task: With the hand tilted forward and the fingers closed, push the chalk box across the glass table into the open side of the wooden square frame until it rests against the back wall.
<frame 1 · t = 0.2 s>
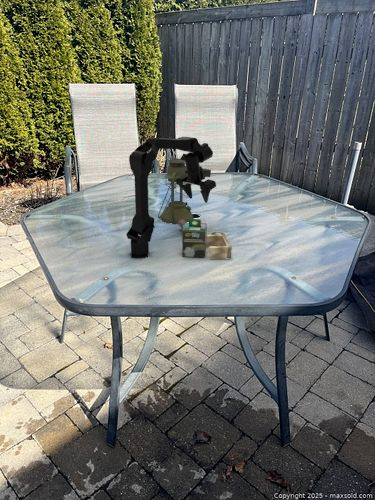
hand: (198, 200, 166), 16 cm above the table, tool pointing down, fingers open, 9 cm apart
lantern: (176, 219, 192), on the table
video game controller: (186, 232, 175), on the table
chalk box: (194, 253, 153), on the table
wooden square frame: (217, 252, 153), on the table
wheel: (217, 239, 167), on the table
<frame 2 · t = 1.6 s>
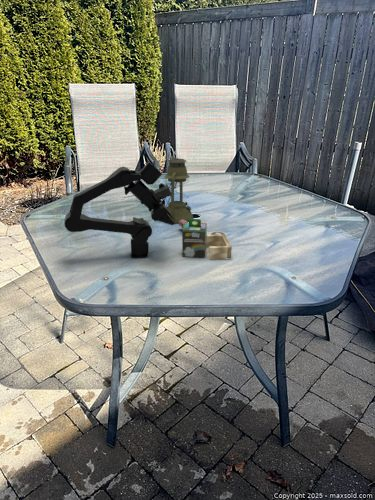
hand: (172, 221, 147), 13 cm above the table, tool tilted 45°, fingers open, 7 cm apart
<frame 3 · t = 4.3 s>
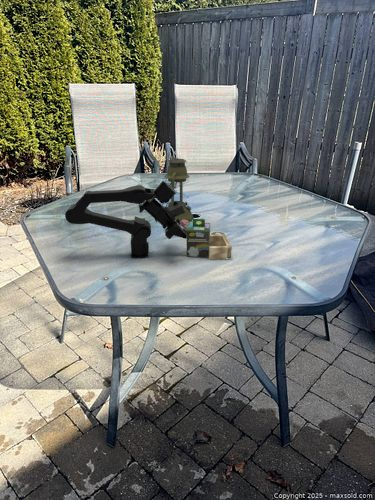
hand: (186, 237, 150), 7 cm above the table, tool tilted 45°, fingers closed
chalk box: (198, 253, 153), on the table, touching gripper
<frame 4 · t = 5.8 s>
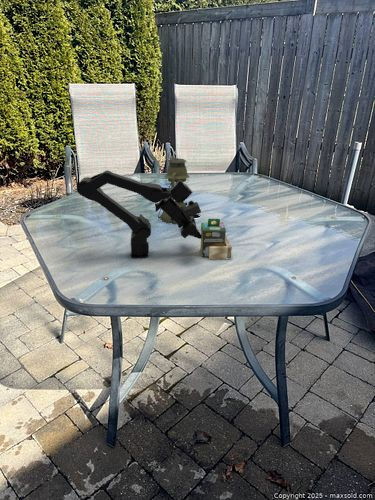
hand: (201, 237, 150), 7 cm above the table, tool tilted 45°, fingers closed, pressing on chalk box
chalk box: (211, 253, 153), on the table, touching wooden square frame, gripper
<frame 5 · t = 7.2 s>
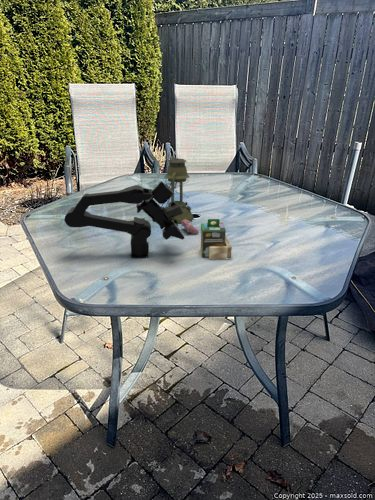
hand: (183, 238, 150), 6 cm above the table, tool tilted 45°, fingers closed
chalk box: (212, 253, 153), on the table
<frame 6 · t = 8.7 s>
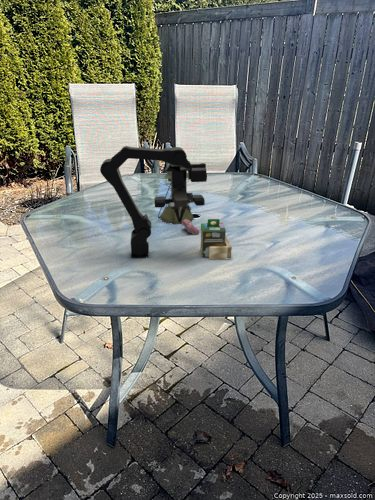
hand: (179, 222, 147), 13 cm above the table, tool pointing down, fingers closed
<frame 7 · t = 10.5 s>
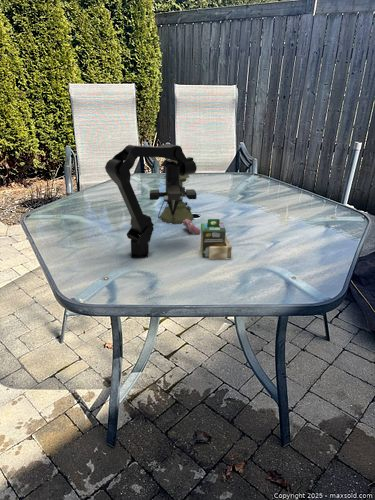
hand: (172, 214, 156), 13 cm above the table, tool pointing down, fingers closed
at the end: chalk box 0.4 cm from the target spot on the wooden square frame, point 0.0 cm above the wooden square frame's base; chalk box tilted 0° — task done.
